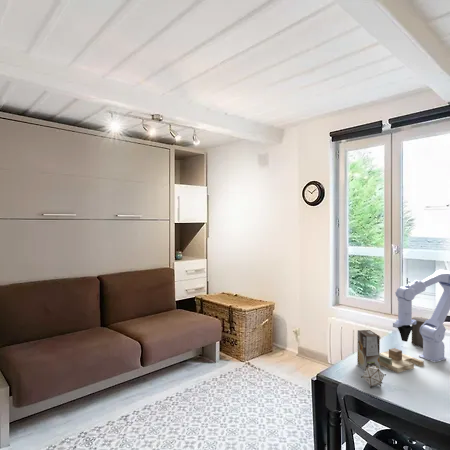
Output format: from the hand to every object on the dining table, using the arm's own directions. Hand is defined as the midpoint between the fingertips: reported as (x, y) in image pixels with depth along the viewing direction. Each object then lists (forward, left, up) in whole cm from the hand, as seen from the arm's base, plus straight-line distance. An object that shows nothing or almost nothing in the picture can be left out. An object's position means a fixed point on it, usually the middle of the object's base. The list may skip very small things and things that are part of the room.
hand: (404, 340), depth 167 cm
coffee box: (+23, -1, -10) cm, 25 cm away
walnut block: (+6, 0, -7) cm, 10 cm away
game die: (+35, +12, -10) cm, 39 cm away
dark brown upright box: (-30, -11, -10) cm, 33 cm away
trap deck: (+6, 0, -9) cm, 11 cm away
